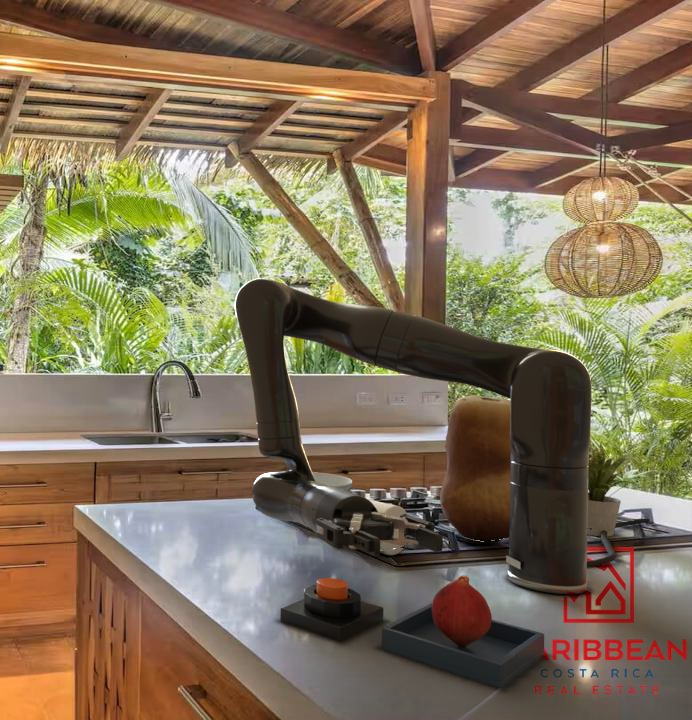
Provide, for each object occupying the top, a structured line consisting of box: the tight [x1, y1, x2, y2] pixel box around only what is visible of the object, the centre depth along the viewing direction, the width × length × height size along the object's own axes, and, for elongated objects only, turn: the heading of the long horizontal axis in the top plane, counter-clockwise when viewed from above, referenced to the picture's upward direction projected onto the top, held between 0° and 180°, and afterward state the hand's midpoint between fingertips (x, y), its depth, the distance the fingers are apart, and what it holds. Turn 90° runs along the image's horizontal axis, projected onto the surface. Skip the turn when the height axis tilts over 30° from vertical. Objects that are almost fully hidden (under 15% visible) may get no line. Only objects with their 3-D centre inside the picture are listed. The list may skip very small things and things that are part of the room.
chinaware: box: [312, 471, 353, 492], centre depth 143 cm, size 15×15×8 cm
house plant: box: [587, 443, 648, 537], centre depth 130 cm, size 14×14×16 cm
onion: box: [431, 574, 493, 647], centre depth 81 cm, size 6×6×8 cm
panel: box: [280, 584, 384, 643], centre depth 90 cm, size 10×8×4 cm
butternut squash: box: [439, 395, 511, 544], centre depth 126 cm, size 14×13×25 cm
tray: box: [381, 602, 545, 689], centre depth 81 cm, size 12×12×2 cm
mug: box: [367, 498, 410, 556], centre depth 123 cm, size 12×10×8 cm
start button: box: [316, 577, 349, 600], centre depth 90 cm, size 4×4×2 cm
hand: (409, 545), depth 90 cm, fingers open, 8 cm apart
